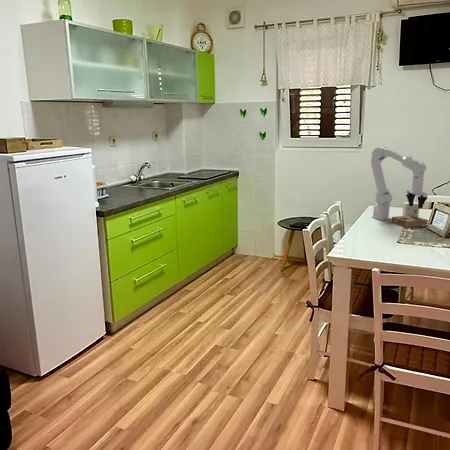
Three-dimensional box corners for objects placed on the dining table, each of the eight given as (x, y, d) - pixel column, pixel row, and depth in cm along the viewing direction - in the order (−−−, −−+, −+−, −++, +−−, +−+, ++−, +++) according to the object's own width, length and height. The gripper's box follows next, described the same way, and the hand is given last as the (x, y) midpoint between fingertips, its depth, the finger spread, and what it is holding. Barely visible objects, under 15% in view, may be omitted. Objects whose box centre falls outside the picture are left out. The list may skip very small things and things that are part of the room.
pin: (409, 222, 257) (410, 209, 255) (414, 222, 258) (415, 208, 256) (413, 223, 254) (414, 210, 252) (417, 223, 255) (419, 210, 253)
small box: (415, 218, 270) (416, 202, 267) (418, 220, 264) (419, 203, 262) (401, 218, 270) (403, 201, 268) (404, 220, 265) (406, 203, 263)
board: (391, 222, 260) (391, 216, 259) (410, 220, 264) (411, 214, 263) (407, 227, 247) (408, 221, 246) (427, 225, 251) (428, 219, 250)
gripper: (403, 182, 257) (401, 205, 260) (420, 186, 243) (418, 210, 246) (413, 182, 259) (411, 204, 262) (431, 185, 245) (428, 209, 248)
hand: (415, 207), depth 254 cm, fingers open, 7 cm apart
